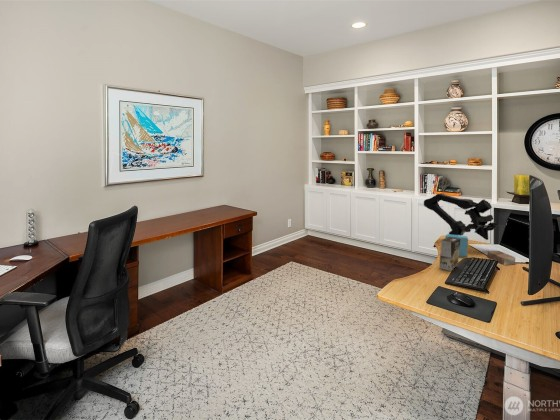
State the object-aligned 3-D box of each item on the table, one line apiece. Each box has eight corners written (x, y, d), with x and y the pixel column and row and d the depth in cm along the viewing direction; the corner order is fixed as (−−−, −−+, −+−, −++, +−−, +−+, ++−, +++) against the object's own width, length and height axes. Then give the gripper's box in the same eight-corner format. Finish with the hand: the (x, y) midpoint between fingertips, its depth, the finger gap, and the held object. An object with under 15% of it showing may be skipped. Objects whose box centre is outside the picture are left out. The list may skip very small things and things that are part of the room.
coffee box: (451, 271, 180) (453, 242, 176) (438, 268, 184) (441, 239, 181) (458, 267, 186) (460, 238, 182) (446, 263, 190) (448, 236, 187)
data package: (466, 255, 204) (468, 235, 201) (466, 257, 200) (468, 237, 197) (443, 252, 209) (445, 233, 206) (443, 254, 205) (445, 235, 202)
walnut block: (487, 251, 198) (504, 258, 186) (498, 250, 199) (515, 257, 187) (487, 257, 199) (503, 265, 187) (497, 257, 200) (514, 264, 188)
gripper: (469, 210, 202) (481, 234, 194) (497, 209, 205) (510, 232, 197) (459, 220, 211) (470, 243, 203) (486, 219, 214) (497, 240, 206)
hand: (487, 239), depth 202 cm, fingers closed
